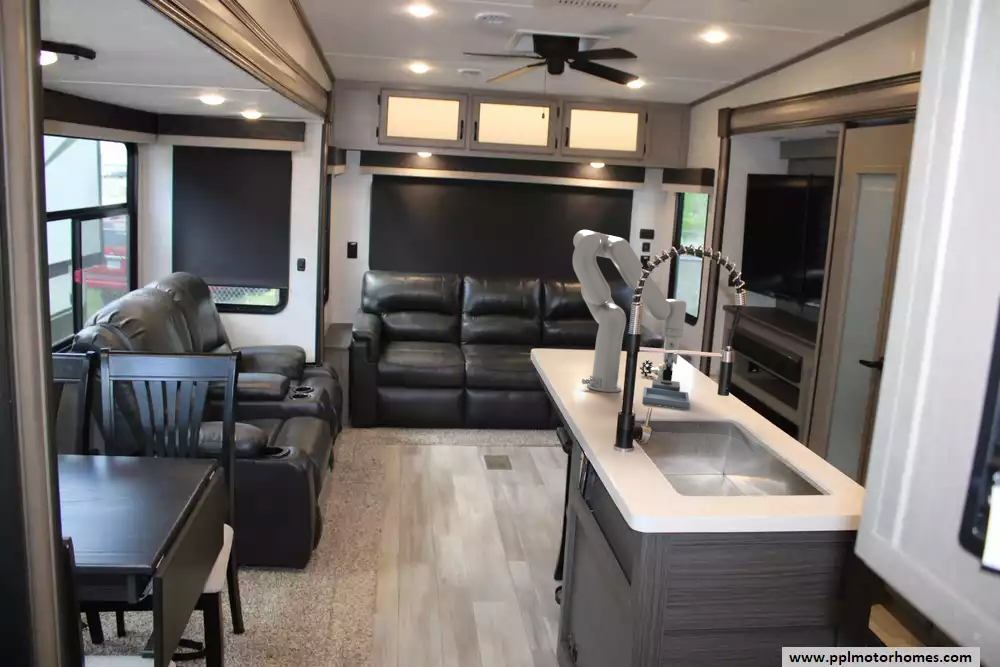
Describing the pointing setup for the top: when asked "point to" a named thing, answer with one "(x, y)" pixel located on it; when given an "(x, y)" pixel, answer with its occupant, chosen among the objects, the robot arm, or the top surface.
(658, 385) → the block
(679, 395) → the parts tray
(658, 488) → the top surface
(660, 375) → the valve
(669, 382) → the lock pin
